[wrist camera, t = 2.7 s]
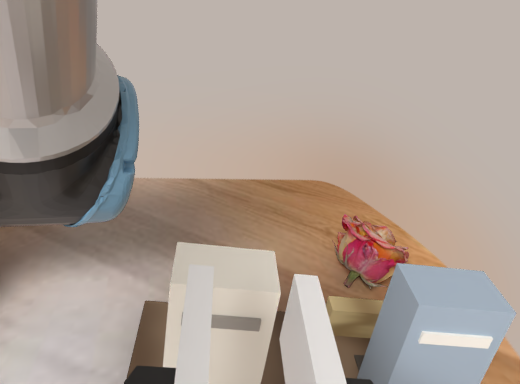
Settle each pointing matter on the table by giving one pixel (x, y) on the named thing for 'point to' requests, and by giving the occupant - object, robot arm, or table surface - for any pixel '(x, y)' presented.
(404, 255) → the flower
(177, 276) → the key cream
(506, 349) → the table surface
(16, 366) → the table surface
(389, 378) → the light blue tall block
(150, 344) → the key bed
